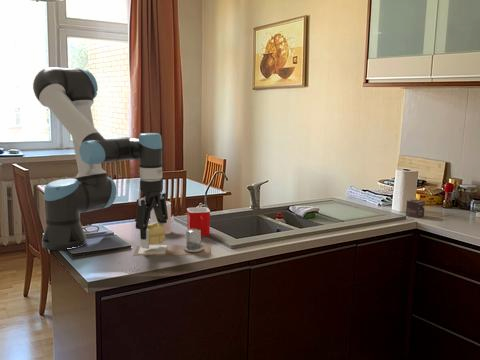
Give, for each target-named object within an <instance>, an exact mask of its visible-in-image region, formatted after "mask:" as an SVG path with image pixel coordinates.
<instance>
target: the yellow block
mask: <svg viewBox="0 0 480 360" xmlns="http://www.w3.org/2000/svg"><path fill="white" fill-rule="evenodd" d="M147 229H149V245H160V244H163V243H164V242H166V234H165V231H164V225H162V224H158V223H157V222H154V223H151V222H150V223H148V227H147ZM139 239H140V240H141V238H139Z"/></svg>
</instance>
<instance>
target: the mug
mask: <svg viewBox="0 0 480 360" xmlns="http://www.w3.org/2000/svg"><path fill="white" fill-rule="evenodd" d="M171 205H172V202H170V201H168V200H166V206H167V214H168V219H167V223H164V231H165V235H169V234H171V233H172V232H173V229H172V206H171ZM154 222H157V223H159V222H158V221H157V218H156V215H155V212H154V209H152V210H151V213H150V224H151V223H154Z"/></svg>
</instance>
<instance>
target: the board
mask: <svg viewBox="0 0 480 360" xmlns="http://www.w3.org/2000/svg"><path fill="white" fill-rule="evenodd" d="M166 245H167V248H166V252H165V254H152V255H138V252H139V250H140V247H141V245H136V248H135V250H134V253H133V254H132V257H146V256H147V257H149V256H153V257H154V256H158V257H159V256H200V255H201V256H203V255H204V256H206V255H207V256H211V255H212V245H211V244H201V245H202V246H203V247H204V250H203V251H202V252H198V253H188V252H185V251H184V250H183V247H184V246H186V244H166Z"/></svg>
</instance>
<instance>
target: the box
mask: <svg viewBox="0 0 480 360" xmlns="http://www.w3.org/2000/svg"><path fill="white" fill-rule="evenodd" d="M425 203H426V200H421V199H415V198H413V199H407V200H406V206H405V207H406V209H405V216H406V217H410V218H411V217H412V218H415V219H419V218H423V217H425V208H426V207H425V205H426V204H425Z"/></svg>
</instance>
